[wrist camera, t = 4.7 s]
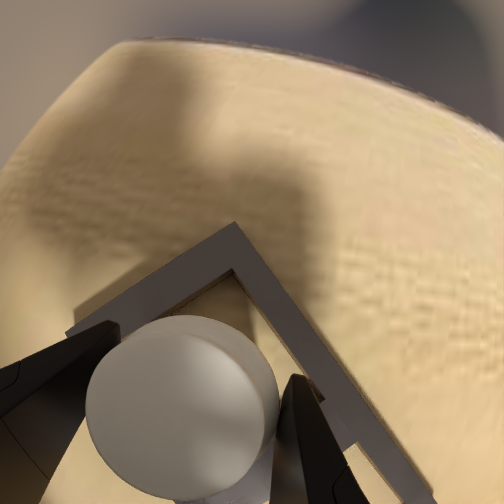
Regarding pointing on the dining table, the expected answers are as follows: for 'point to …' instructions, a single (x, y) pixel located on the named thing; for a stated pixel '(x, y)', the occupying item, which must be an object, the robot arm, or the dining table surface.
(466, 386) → the dining table surface
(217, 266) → the dark grey flat frame
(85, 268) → the dining table surface
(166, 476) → the pill bottle
